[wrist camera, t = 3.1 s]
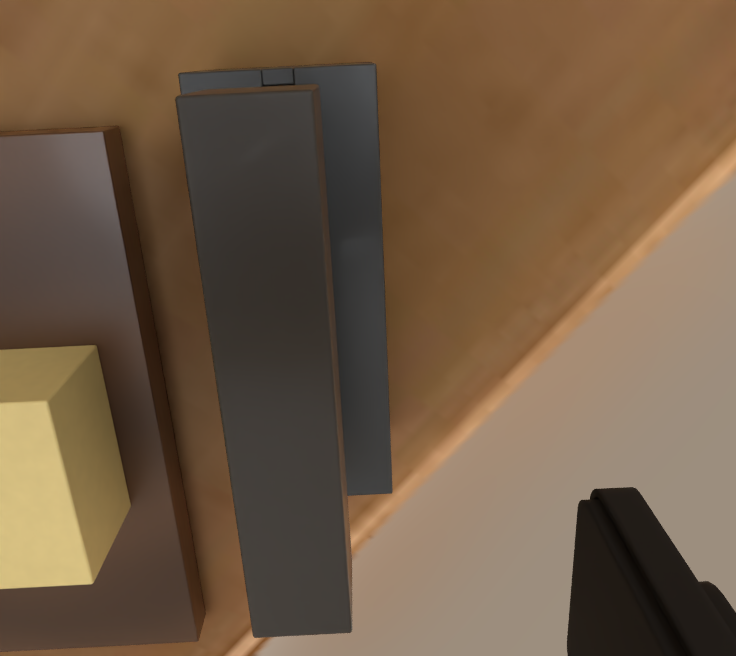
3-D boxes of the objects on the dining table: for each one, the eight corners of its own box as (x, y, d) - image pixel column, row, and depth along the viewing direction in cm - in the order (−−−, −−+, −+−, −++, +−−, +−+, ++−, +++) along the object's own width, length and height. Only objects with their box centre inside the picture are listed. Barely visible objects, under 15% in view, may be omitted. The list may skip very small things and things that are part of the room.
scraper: (252, 78, 21) (173, 95, 12) (330, 74, 21) (313, 89, 12) (288, 428, 25) (253, 638, 16) (351, 425, 25) (352, 633, 16)
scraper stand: (208, 70, 21) (177, 73, 17) (371, 61, 21) (376, 63, 17) (254, 437, 26) (238, 501, 22) (386, 430, 26) (392, 494, 22)
